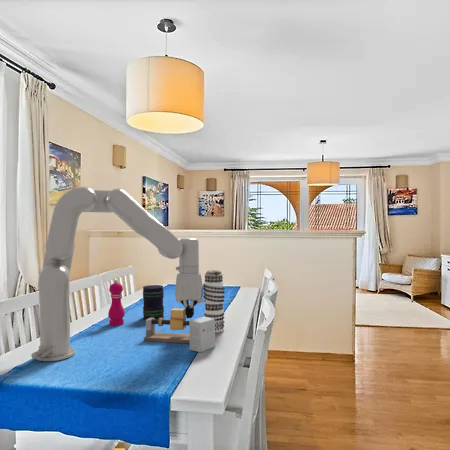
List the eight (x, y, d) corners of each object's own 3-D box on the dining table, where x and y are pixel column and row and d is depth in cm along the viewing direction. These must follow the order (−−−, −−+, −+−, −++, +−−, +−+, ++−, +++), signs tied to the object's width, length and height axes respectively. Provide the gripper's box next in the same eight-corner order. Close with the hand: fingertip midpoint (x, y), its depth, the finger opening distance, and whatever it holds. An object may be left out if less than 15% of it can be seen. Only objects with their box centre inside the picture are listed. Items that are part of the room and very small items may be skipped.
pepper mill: (120, 326, 177) (119, 281, 177) (105, 325, 179) (104, 280, 178) (127, 322, 184) (126, 278, 184) (113, 321, 186) (112, 278, 186)
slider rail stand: (198, 343, 150) (198, 322, 150) (143, 340, 155) (143, 319, 155) (204, 337, 158) (204, 317, 158) (152, 334, 163) (151, 315, 163)
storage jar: (160, 314, 199) (159, 284, 199) (166, 318, 191) (166, 287, 190) (140, 316, 194) (140, 286, 194) (146, 321, 186) (146, 289, 186)
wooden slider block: (182, 330, 153) (182, 310, 153) (170, 329, 155) (169, 310, 154) (186, 327, 158) (185, 308, 158) (174, 326, 159) (173, 307, 159)
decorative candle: (200, 328, 172) (199, 270, 172) (220, 326, 175) (220, 268, 175) (207, 333, 164) (206, 272, 163) (228, 331, 167) (227, 271, 167)
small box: (204, 344, 150) (203, 316, 149) (215, 347, 146) (215, 318, 146) (189, 349, 143) (188, 320, 143) (200, 352, 140) (200, 322, 140)
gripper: (167, 270, 153) (167, 319, 153) (205, 271, 150) (205, 320, 150) (174, 268, 160) (174, 314, 160) (210, 269, 157) (210, 316, 157)
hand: (189, 317), depth 155 cm, fingers closed
